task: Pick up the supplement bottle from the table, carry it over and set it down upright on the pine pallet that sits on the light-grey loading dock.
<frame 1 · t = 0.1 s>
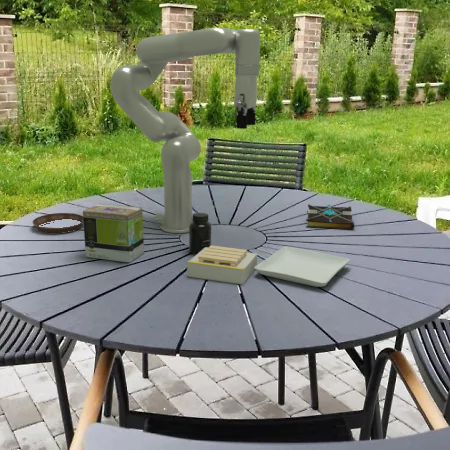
hand: (245, 126, 183), 37 cm above the table, tool pointing down, fingers open, 9 cm apart
dock: (222, 271, 163), on the table
supplement bottle: (200, 252, 178), on the table
plant saucer: (59, 228, 201), on the table
tea box: (115, 256, 174), on the table
book: (329, 222, 213), on the table
salad plate: (302, 274, 163), on the table
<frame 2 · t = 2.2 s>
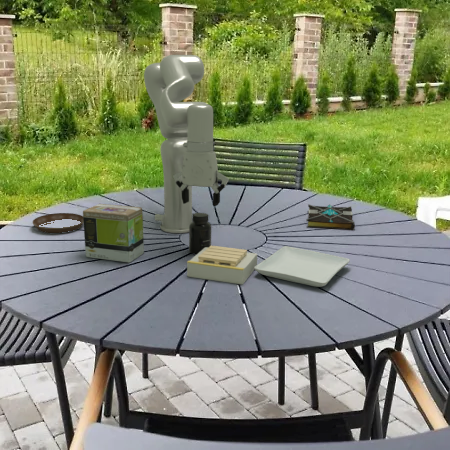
hand: (200, 204, 173), 16 cm above the table, tool pointing down, fingers open, 9 cm apart
nothing on the table moved.
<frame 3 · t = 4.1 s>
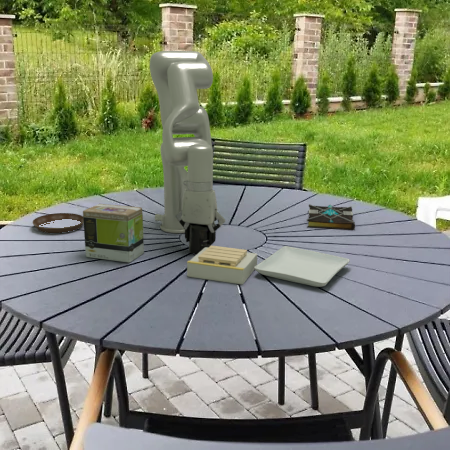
hand: (200, 241, 177), 3 cm above the table, tool pointing down, fingers closed on supplement bottle, 6 cm apart
supplement bottle: (200, 252, 178), on the table, touching gripper
everything else where it was.
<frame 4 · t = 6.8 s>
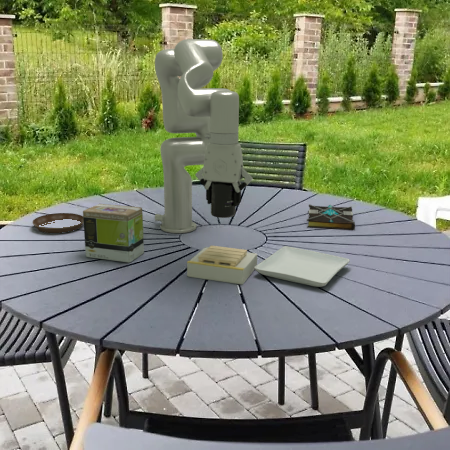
hand: (223, 203, 157), 20 cm above the table, tool pointing down, fingers closed on supplement bottle, 6 cm apart
supplement bottle: (223, 215, 158), point 16 cm above the table, touching gripper
everything else where it was.
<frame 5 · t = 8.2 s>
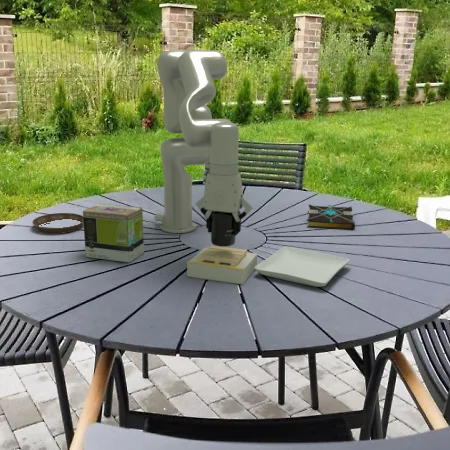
hand: (223, 232, 159), 12 cm above the table, tool pointing down, fingers closed on supplement bottle, 6 cm apart
supplement bottle: (223, 243, 160), point 8 cm above the table, touching gripper
everything else where it was.
when the fingers open (10 cm above the table, at t = 9.5 s): supplement bottle drops 1 cm, resting on dock.
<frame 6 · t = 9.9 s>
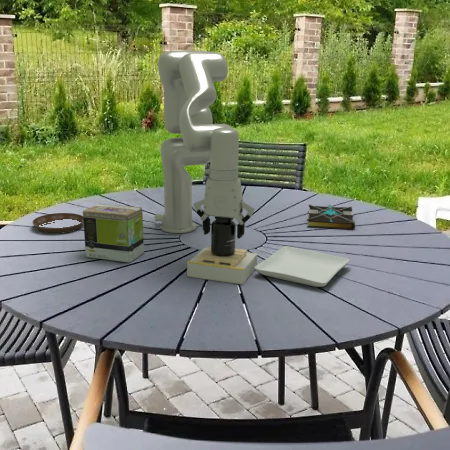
hand: (223, 235, 160), 11 cm above the table, tool pointing down, fingers open, 9 cm apart
supplement bottle: (223, 253, 161), point 5 cm above the table, touching dock
everything else where it was.
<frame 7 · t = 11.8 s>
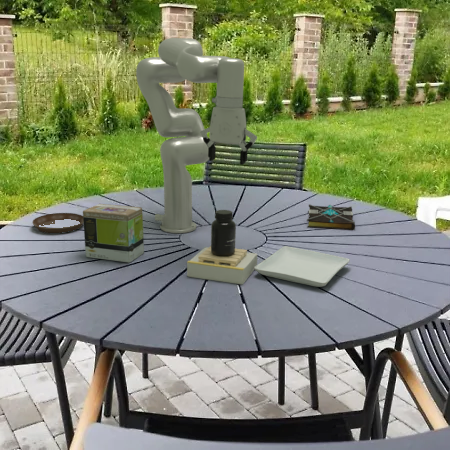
hand: (227, 161, 170), 28 cm above the table, tool pointing down, fingers open, 9 cm apart
nothing on the table moved.
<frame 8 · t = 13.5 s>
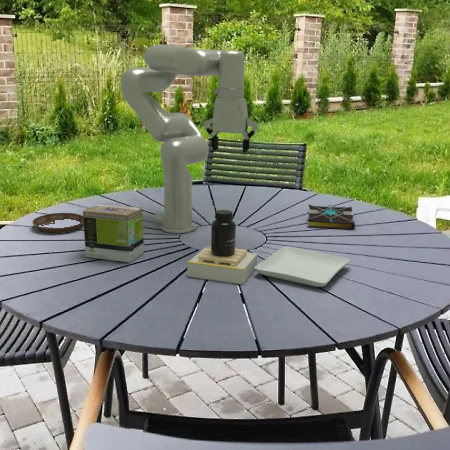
hand: (230, 150, 176), 30 cm above the table, tool pointing down, fingers open, 9 cm apart
nothing on the table moved.
at the end: supplement bottle inside the target area on the dock (0.1 cm from its centre), point 5.3 cm above the dock's base; supplement bottle tilted 0°; the gripper is holding nothing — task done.
